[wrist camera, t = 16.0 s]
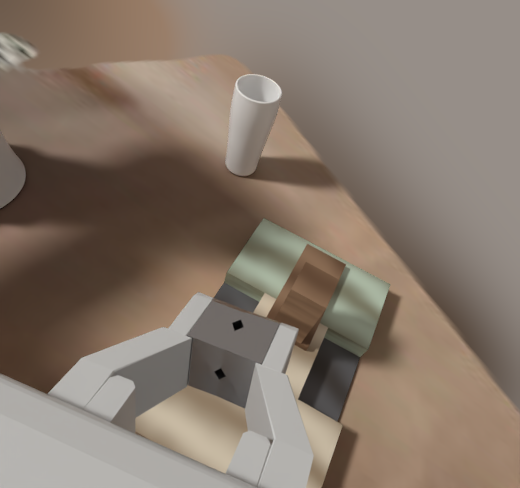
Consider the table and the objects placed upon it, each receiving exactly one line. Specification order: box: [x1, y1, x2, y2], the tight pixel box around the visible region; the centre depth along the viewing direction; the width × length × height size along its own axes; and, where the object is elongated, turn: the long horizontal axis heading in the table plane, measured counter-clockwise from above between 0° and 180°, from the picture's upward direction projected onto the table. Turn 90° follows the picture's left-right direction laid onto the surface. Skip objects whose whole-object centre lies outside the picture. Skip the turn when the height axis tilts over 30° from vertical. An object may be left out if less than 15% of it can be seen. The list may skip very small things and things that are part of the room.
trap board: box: [135, 218, 390, 488], centre depth 51 cm, size 32×20×3 cm, turn 154°
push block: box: [267, 244, 346, 351], centre depth 51 cm, size 14×6×10 cm, turn 153°
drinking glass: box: [225, 74, 282, 176], centre depth 64 cm, size 7×7×15 cm
